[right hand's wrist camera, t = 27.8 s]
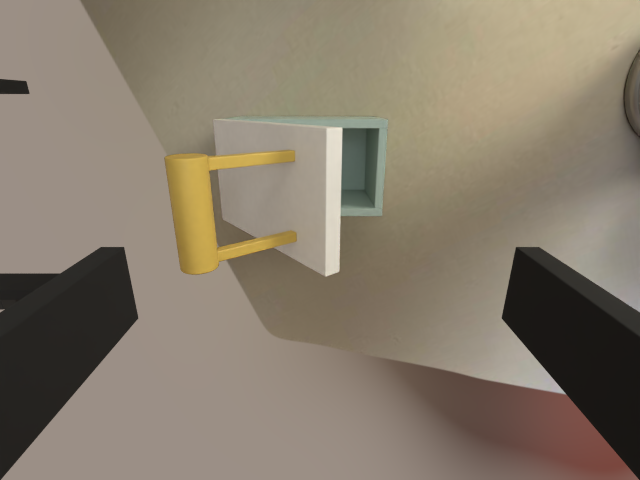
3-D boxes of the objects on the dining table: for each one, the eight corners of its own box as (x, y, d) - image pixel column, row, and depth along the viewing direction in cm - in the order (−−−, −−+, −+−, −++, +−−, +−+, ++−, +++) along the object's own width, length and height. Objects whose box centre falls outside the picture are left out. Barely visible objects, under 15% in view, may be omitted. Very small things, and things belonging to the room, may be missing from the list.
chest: (373, 116, 42) (388, 119, 33) (369, 194, 45) (382, 216, 36) (241, 115, 42) (221, 118, 33) (247, 194, 45) (229, 216, 36)
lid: (342, 127, 21) (184, 134, 16) (339, 272, 24) (207, 318, 19) (225, 119, 33) (113, 121, 28) (233, 216, 36) (134, 235, 31)
